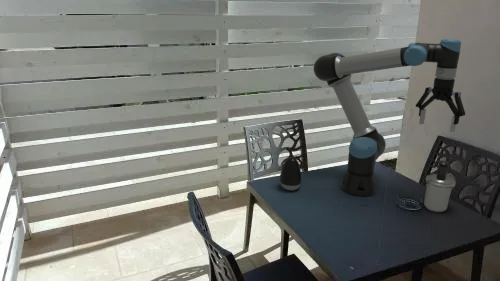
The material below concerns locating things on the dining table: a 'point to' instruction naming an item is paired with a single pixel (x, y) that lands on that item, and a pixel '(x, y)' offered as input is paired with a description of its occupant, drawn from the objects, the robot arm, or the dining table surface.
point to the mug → (436, 198)
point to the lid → (441, 177)
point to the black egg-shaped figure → (291, 174)
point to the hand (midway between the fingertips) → (436, 127)
